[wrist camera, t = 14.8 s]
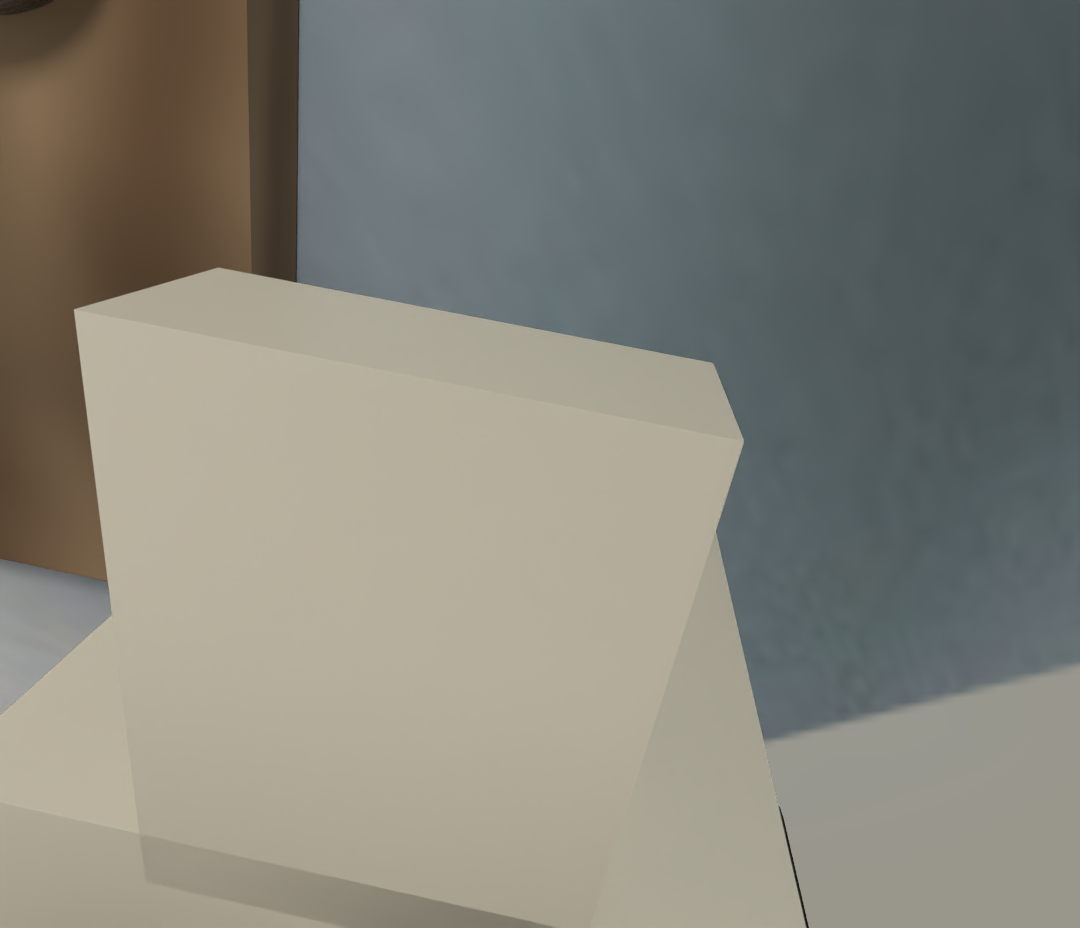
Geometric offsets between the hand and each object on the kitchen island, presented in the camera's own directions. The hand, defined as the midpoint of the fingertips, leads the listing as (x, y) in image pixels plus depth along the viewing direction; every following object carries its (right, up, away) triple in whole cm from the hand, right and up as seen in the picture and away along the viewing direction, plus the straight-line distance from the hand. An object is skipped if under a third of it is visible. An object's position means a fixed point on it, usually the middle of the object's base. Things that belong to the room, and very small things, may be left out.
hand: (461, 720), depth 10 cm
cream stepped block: (0, +2, 0) cm, 2 cm away
